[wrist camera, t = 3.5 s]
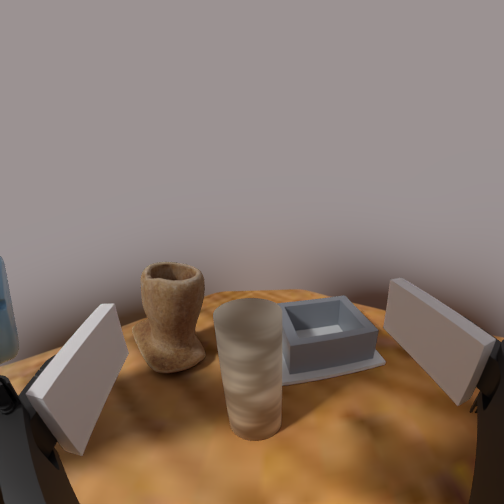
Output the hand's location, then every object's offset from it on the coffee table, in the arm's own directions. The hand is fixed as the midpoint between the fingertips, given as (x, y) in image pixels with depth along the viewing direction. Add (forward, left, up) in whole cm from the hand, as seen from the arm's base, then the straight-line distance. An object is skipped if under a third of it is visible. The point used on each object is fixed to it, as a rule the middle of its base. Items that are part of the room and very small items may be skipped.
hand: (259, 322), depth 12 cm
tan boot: (-12, +28, -20) cm, 36 cm away
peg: (0, +11, -20) cm, 23 cm away
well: (+12, +25, -20) cm, 34 cm away
